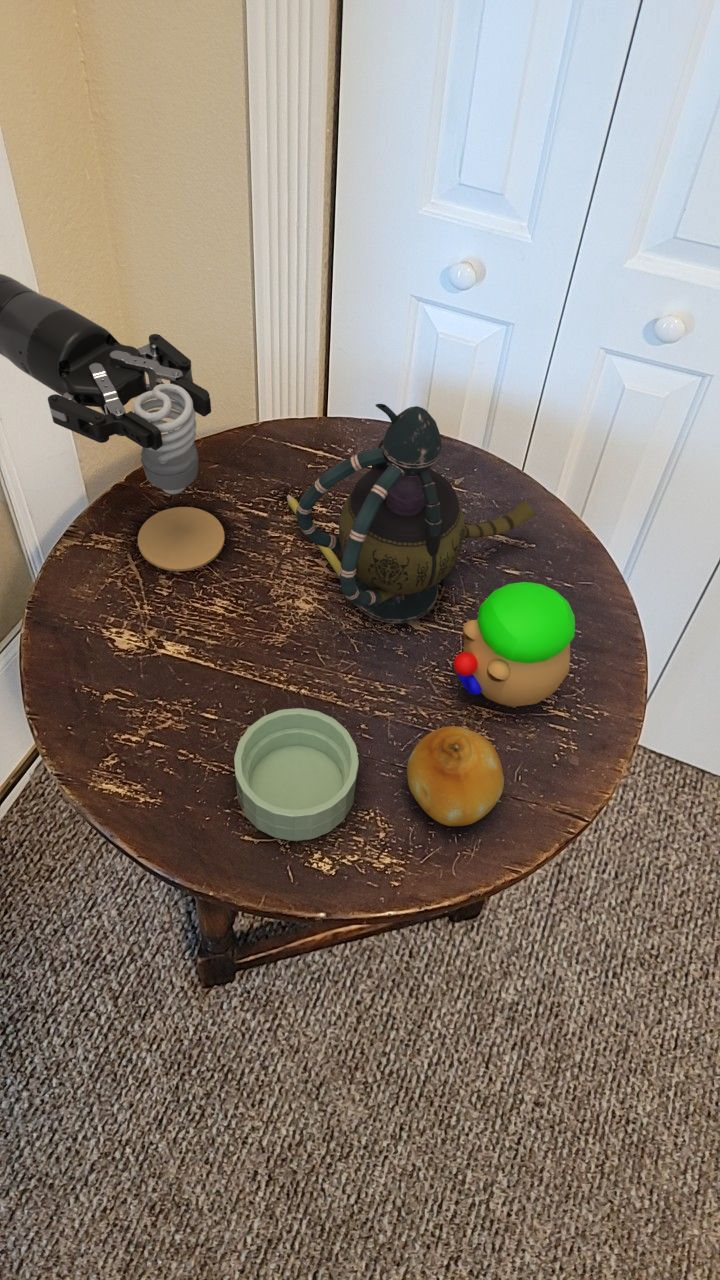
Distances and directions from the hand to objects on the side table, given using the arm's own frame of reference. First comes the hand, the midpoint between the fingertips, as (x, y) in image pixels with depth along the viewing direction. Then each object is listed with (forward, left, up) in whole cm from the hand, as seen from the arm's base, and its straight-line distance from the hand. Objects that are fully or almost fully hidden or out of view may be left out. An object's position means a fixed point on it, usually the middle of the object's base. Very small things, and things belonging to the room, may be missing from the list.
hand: (183, 423), depth 84 cm
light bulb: (-1, +2, -10) cm, 11 cm away
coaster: (-1, +2, -17) cm, 17 cm away
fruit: (+10, -36, -17) cm, 41 cm away
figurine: (+20, -28, -17) cm, 38 cm away
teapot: (+20, -13, -17) cm, 29 cm away
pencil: (+12, -3, -17) cm, 21 cm away
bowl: (-2, -30, -17) cm, 34 cm away
